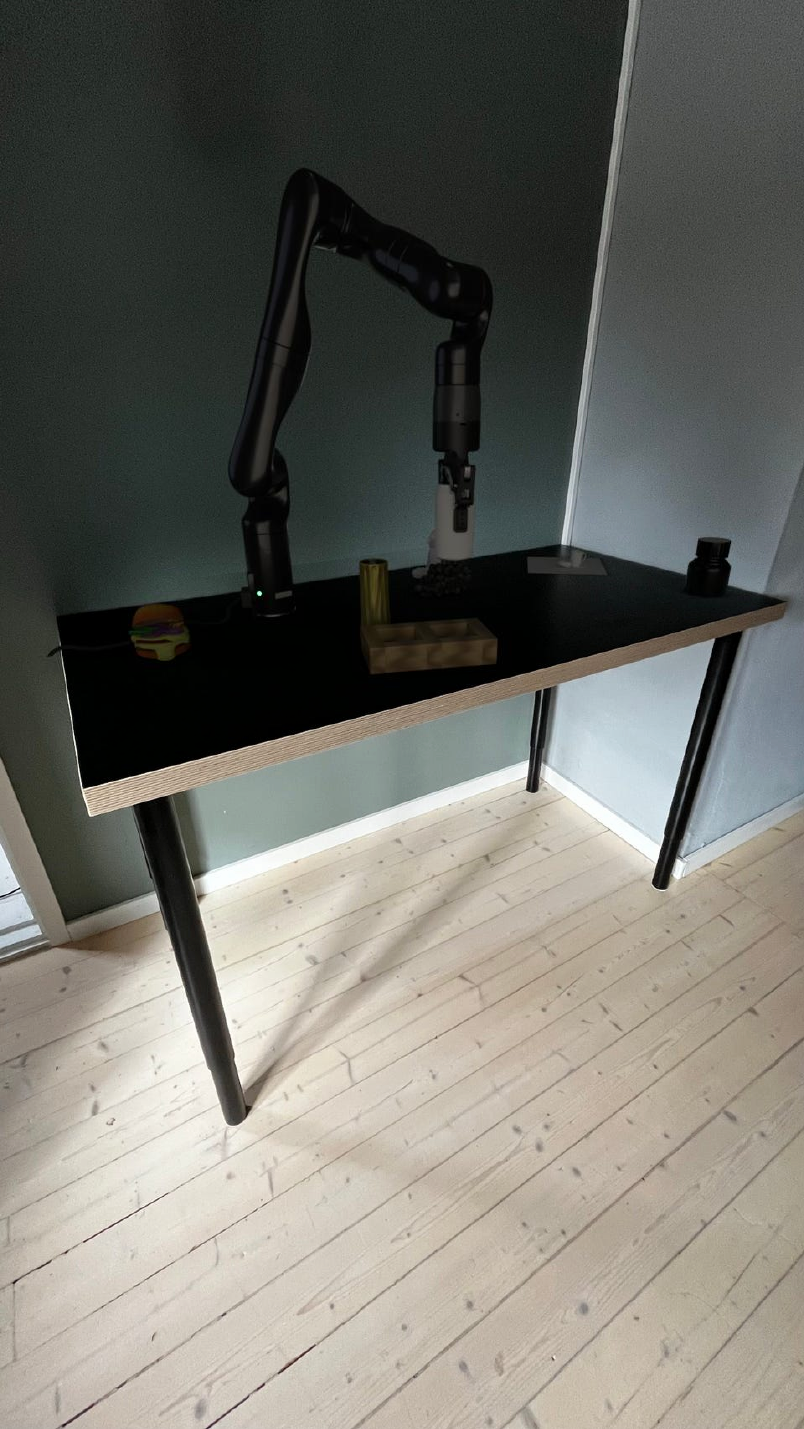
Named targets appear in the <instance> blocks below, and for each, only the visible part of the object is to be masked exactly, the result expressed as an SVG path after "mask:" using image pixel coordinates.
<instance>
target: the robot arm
mask: <svg viewBox="0 0 804 1429" xmlns="http://www.w3.org/2000/svg"><path fill="white" fill-rule="evenodd" d="M280 201H281V202H280V206H279V214H278V220H277V228H276V234H275V235H276V236H275V243H274V244H275V245H274V253H273V262H272V269H271V276H270V281H269V286H268V292H267V297H266V302H265V306H264V307H265V308H264V312H263V316H262V317H263V318H262V322H261V326H260V329H259V335H258V338H257V343H256V347H255V354H254V358H253V365H252V371H251V375H250V378H249V383H248V389H247V394H246V399H245V403H244V408H243V412H242V416H241V419H240V423H239V427H238V430H237V433H236V436H235V438H234V443H233V446H232V448H231V452H230V454H229V459H228V463H227V476H228V479H229V482H230V485H231V487H232V488H233V490H234V491H235V492H236V493H237V494H238V495H240V496H242V497H244V498H247V499H248V502H247V503H248V504H247V508H246V510H245V512H244V514H243V515H242V517H241V520H240V523H241V531H242V541H243V548H244V556H245V557H244V558H245V565H246V582H247V586H241V588H240V596H238V597H237V598H236V599H234V600H233V601H231V602H230V603H229V604H228V606H227V608H226V613H225V614H226V616H225V617H224V618H223V619H221V620H219V621H216V622H208V621H207V622H206V621H200V620H184V621H183V623H184V626H186V625H193V626H194V625H195V626H199V625H203V626H205V625H222V624H225V623H227V622H228V621H230V618H231V611H232V608H233V607H234V606H235V605H236V604H238V603H240V602H241V607H242V609H248V608H250V614H251V618H252V619H265V620H274V619H275V620H276V619H283V618H287V617H290V616H292V615H295V614H296V613H297V605H296V598H295V586H294V576H293V565H292V564H293V563H292V553H291V542H290V531H289V520H290V516H291V487H290V485H291V484H290V474H289V473H290V472H289V468H288V463H287V461H286V458H285V456H284V455H283V453H282V451H280V450H279V449H278V448H277V447H276V444H277V439H278V435H279V432H280V429H281V426H282V424H283V422H284V420H285V418H286V416H287V414H288V413H289V411H290V409H291V407H292V406H293V404H294V402H295V401H296V398H297V397H298V395H299V393H300V391H301V389H302V387H303V386H304V385H303V384H304V382H305V379H306V375H307V372H308V367H309V363H310V359H311V356H312V351H313V346H314V332H313V325H312V319H311V318H312V317H311V313H310V308H309V302H308V297H307V296H308V295H307V275H308V268H309V267H308V266H309V262H310V256H311V252H312V249H315V250H317V251H319V252H322V253H327V254H331V255H337V256H340V257H344V258H348V259H351V260H354V261H356V262H358V263H361V264H362V265H364V266H366V267H367V268H368V269H370V270H371V271H372V272H373V273H374V274H375V275H376V276H378V277H379V278H380V279H381V280H383V281H384V282H386V283H387V284H389V285H390V286H392V287H394V288H395V289H397V290H399V291H401V292H402V293H404V294H406V295H408V296H410V297H411V298H412V299H413V300H414V301H415V302H416V303H417V305H419V306H420V307H421V308H422V309H423V310H424V311H426V312H427V313H429V314H430V315H432V316H434V317H436V318H439V319H441V320H445V321H452V325H451V330H450V334H449V337H448V339H446V340H443V341H441V342H440V343H438V344H437V346H436V348H435V352H434V368H433V369H434V377H433V378H434V379H433V380H434V382H433V384H434V386H433V396H432V428H431V430H432V437H431V438H432V439H431V440H432V442H431V444H432V446H431V448H432V450H433V451H434V452H436V453H444V454H443V458H438V460H437V486H438V485H439V484H438V482H440V481H442V484H444V483H445V481H446V483H447V484H449V485H448V486H449V493H450V494H451V495H453V506H454V511H453V531H454V532H456V533H465V532H467V529H468V508H470V505H473V503H474V491H475V486H476V485H475V484H476V471H477V467H476V465H475V464H470V462H469V461H470V460H469V453H473V452H478V451H479V450H480V449H481V434H482V433H481V430H482V425H481V424H482V406H483V404H482V392H481V391H482V390H481V387H482V386H481V382H482V353H483V351H484V350H483V349H484V346H485V343H486V339H487V335H488V330H489V326H490V322H491V318H492V315H493V314H492V313H493V307H494V288H493V287H494V286H493V283H492V280H491V277H490V275H489V273H488V272H487V271H486V270H485V269H484V268H483V267H481V266H478V265H475V264H470V263H466V262H461V261H457V260H453V259H451V258H448V257H445V256H443V255H442V254H440V252H439V251H438V249H436V247H434V246H433V245H432V244H431V243H429V242H427V241H425V240H424V239H422V238H421V237H419V236H416V235H414V234H412V233H411V232H409V231H408V230H405V229H402V228H400V227H398V226H394V225H392V224H388V223H385V222H382V221H380V220H379V219H378V218H376V217H374V216H372V215H371V214H370V213H369V212H368V211H366V210H365V209H364V208H363V207H362V206H361V205H360V204H359V203H358V202H357V201H356V200H355V199H353V198H352V197H351V196H350V195H349V194H348V193H347V191H345V189H343V188H342V187H341V186H339V184H337V183H334V182H332V181H331V180H329V179H328V178H326V177H324V176H323V175H321V174H320V173H318V172H316V171H314V170H313V169H310V168H307V167H300V168H298V169H296V170H295V171H293V173H292V174H291V176H290V177H289V178H288V180H287V183H286V184H285V187H284V190H283V194H282V196H281V200H280ZM453 484H457V487H455V486H454V485H453ZM462 493H464V494H465V497H463V498H462ZM134 643H135V642H133V641H132V639H131V638H130V639H128V640H125V641H120V642H116V643H111V644H105V645H99V646H88V645H87V646H86V645H77V644H62V645H59V646H57V647H55V648H52V650H50V651H49V652H48V654H46V658H50V657H53V656H54V655H55V654H56V653H58V652H60V651H64V650H74V651H75V650H76V651H85V652H100V651H106V650H111V649H116V648H121V647H124V646H129V645H132V644H134Z"/></svg>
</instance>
